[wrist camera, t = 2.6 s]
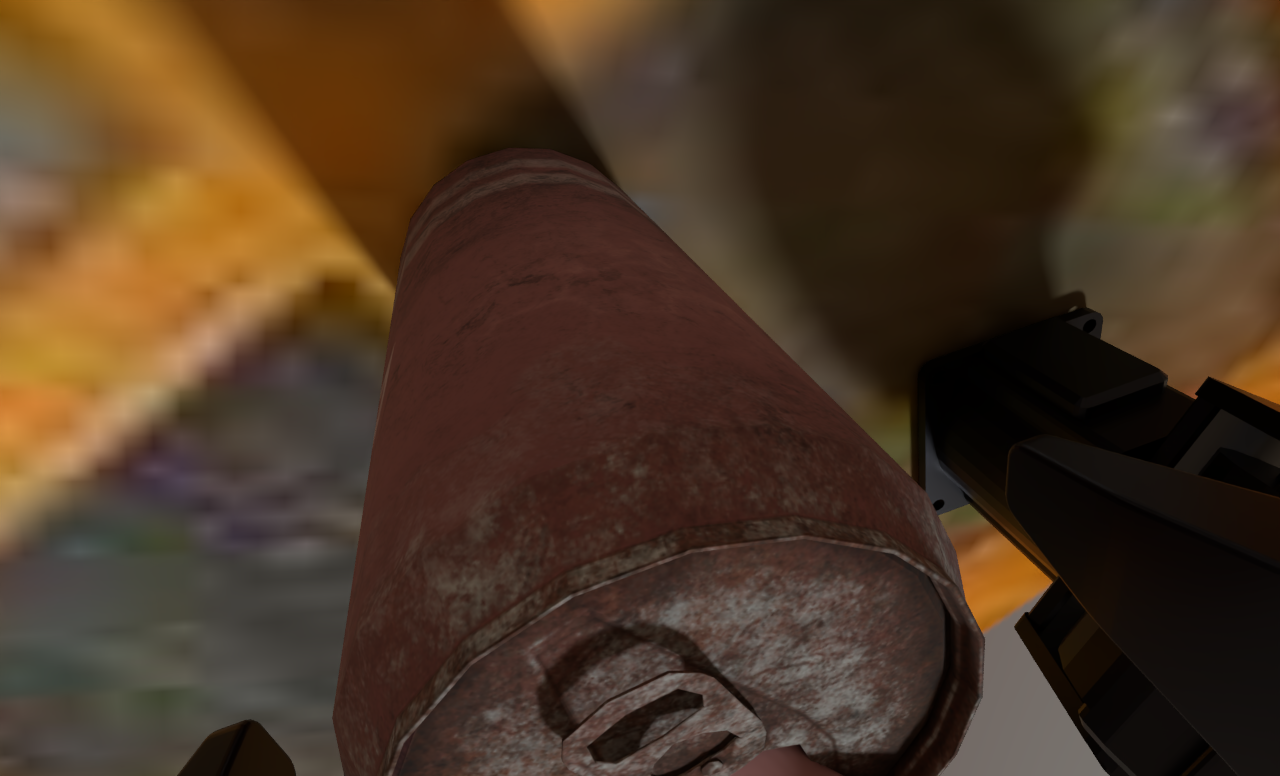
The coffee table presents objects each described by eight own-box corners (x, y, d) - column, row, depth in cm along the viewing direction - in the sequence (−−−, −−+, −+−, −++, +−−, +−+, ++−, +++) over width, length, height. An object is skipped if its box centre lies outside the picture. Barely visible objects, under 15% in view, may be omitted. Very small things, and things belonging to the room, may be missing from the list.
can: (603, 397, 20) (841, 960, 8) (376, 340, 18) (248, 1029, 6) (687, 198, 18) (1178, 576, 6) (441, 102, 15) (454, 418, 4)
